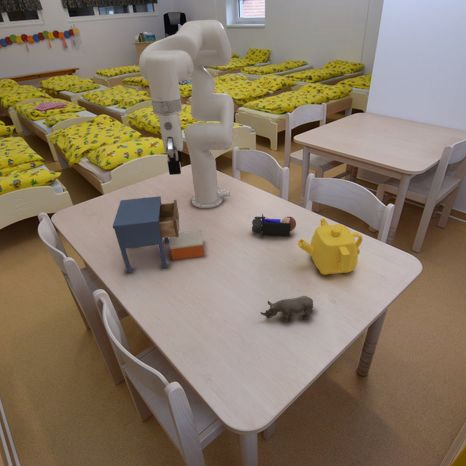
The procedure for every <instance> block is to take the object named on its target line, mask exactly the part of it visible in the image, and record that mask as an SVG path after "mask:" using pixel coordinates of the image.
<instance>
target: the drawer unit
mask: <svg viewBox="0 0 466 466" xmlns="http://www.w3.org/2000/svg"><path fill="white" fill-rule="evenodd" d="M160 204H162V196H160V195H158V196H150V197H140V198H139V197H138V198H131V199H130V198H129V199H121V200H120V202H119V205H118V208H117V211H116V214H115V217H114V220H113V223H112V229H113V231H114V233H115V236H116V240H117V243H118V246H119V250H120V253H121V256H122V260H123V263H124V266H125V270H126V273H127V274H131V273H132V272H133V270H132V267H131V262H130V260H129V255H128V252H127V249H134V248H144V247H150V246H151V247H152V246H153V247H154V246H158V251H159V256H160V261H161V264H162V268H163V269H168V263H167V258H166V253H165V247H164V243H165V244H170V239H169V237H168V238H161V235H160V230H159V225H158V223H159V214H160ZM163 239H164V240H163ZM163 241H164V243H163Z"/></svg>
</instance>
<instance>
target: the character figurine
mask: <svg viewBox="0 0 466 466" xmlns="http://www.w3.org/2000/svg"><path fill="white" fill-rule="evenodd" d="M251 225H252V226H251V232H252V233H253V234H255V235H259V234H261V233H262V234H261V235H262V236H263V237H286V238H287V237H290V236H291V232H292V231H294V230H295V229H296V227H297V221H296V219H295V218H294V217H293V216H289V215H287V216H284V218H282V220H281V218H269V217H266V216H264V214H263V213H262V214H261V216H255V217H254V218H253V219H252V221H251Z"/></svg>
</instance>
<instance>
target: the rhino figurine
mask: <svg viewBox="0 0 466 466" xmlns="http://www.w3.org/2000/svg"><path fill="white" fill-rule="evenodd" d="M267 305H268V306H269V308H268V309H265V311H264V312H262V311H260V314H261V315H262V316H264V317H266V319H268V320H269V319H271V318H273V317H276V316H277V315H278V313H282V314H283V316H284V317H283V322H284V323H288V322H289V321H290V315H291V314H292V315H299V314H302V313H303V312H304V315H303V316H302V320H306V321H308V320H309V319H310V315H311V313H314V310H313V308H314V300H313V299H312V298H311V297H309V296H307V295H301V296H298V297H293V298H283V299H279V300H278V301H275V302H273V303H272V302H271V301H269V300H268V301H267Z"/></svg>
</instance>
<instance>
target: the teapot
mask: <svg viewBox="0 0 466 466" xmlns="http://www.w3.org/2000/svg"><path fill="white" fill-rule="evenodd" d="M355 238H357V240H356V239H355ZM362 242H363V236H362V234H360V233H359V232H356V231H355V232H351V230H350V229H349V228H348V227H347V226H345V225H344V224H328V222H327V219H326V218H320V226H317V227H316V228H315V231H314V233H313V234H312V236H311V241H310V244H309V243H308V242H307V241H306V240H305V239H303V238H302V239H300V240H299V241H298V242H297V247H299V248H300V249H301V250H302V251H305V252H306V253H307V254H308V255H310V256H311V259H312V262H313V263H314V265H315V267H316V268H317V270H319V274H321V275H323V276H327V275H330V274H331V275H333V274H343V273H344V274H348V273H350V272H352V271H354V270H355V269H356V267H357V266H358V255H360V254H361V253H360V252H361V250H360V248H359V247H360V246H361V244H362Z"/></svg>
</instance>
